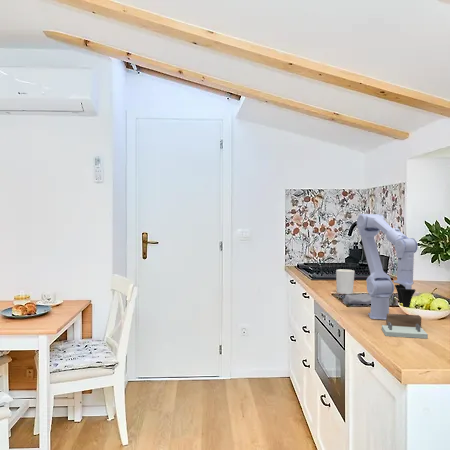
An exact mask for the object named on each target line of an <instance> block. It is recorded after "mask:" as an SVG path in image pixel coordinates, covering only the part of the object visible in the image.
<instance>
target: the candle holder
mask: <svg viewBox="0 0 450 450" xmlns="http://www.w3.org/2000/svg"><path fill="white" fill-rule="evenodd" d="M355 273H356V272H355V270H354V269H353V270H352V269H346V268H345V269H344V268H343V269H341V268H340V269H336V270H335V276H336V277H335V279H336V280H335V281H336V293H337V294H342V295H347V294H350V295H353V293H354V283H355Z"/></svg>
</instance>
